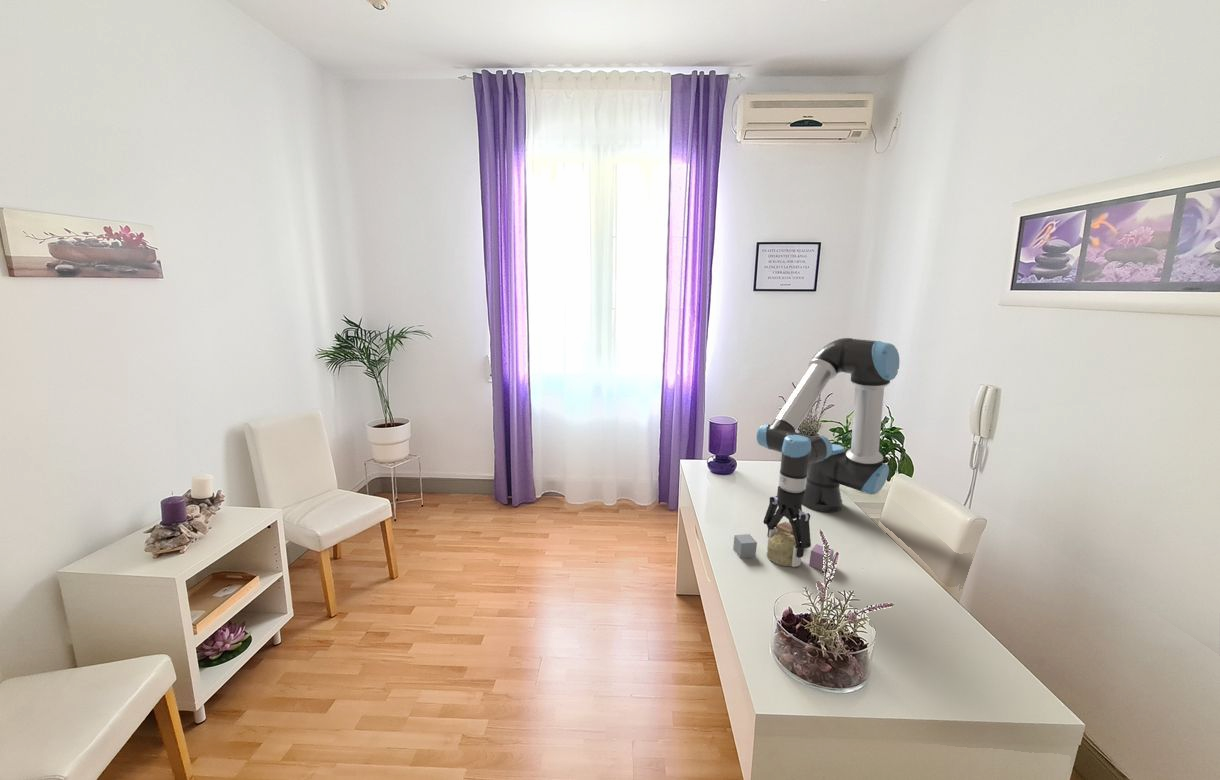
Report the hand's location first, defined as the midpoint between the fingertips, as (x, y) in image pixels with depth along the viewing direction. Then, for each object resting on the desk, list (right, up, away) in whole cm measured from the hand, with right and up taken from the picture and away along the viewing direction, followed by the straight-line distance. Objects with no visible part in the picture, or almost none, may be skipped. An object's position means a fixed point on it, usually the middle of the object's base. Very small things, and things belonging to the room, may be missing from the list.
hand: (783, 556), depth 150 cm
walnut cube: (+5, +2, +11) cm, 12 cm away
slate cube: (-11, 0, +3) cm, 11 cm away
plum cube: (+10, -2, -3) cm, 11 cm away
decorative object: (0, -1, 0) cm, 1 cm away
